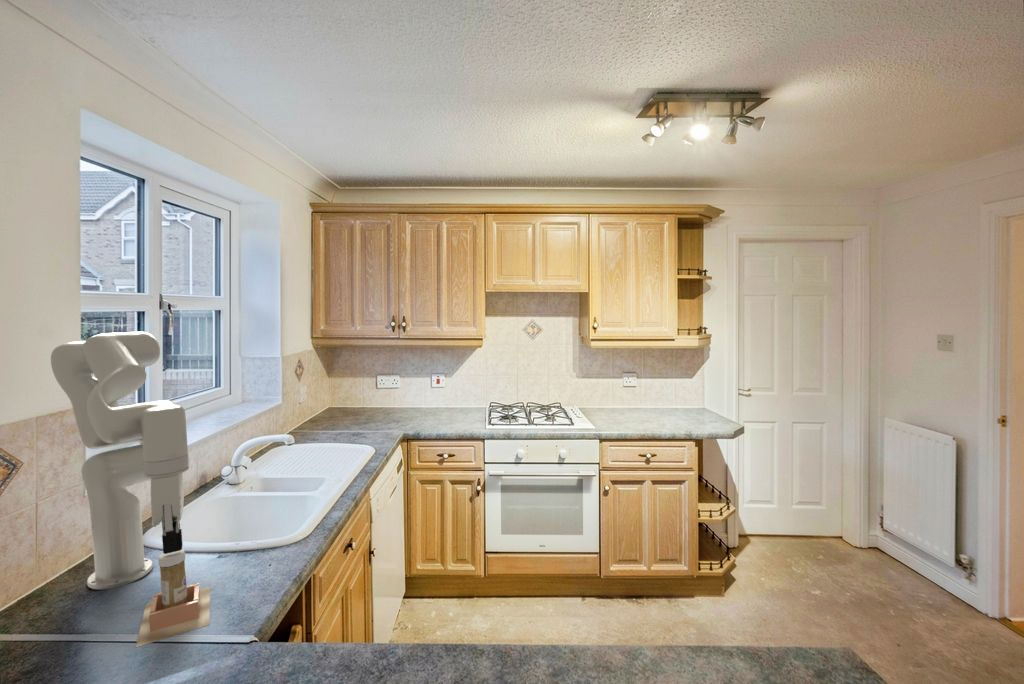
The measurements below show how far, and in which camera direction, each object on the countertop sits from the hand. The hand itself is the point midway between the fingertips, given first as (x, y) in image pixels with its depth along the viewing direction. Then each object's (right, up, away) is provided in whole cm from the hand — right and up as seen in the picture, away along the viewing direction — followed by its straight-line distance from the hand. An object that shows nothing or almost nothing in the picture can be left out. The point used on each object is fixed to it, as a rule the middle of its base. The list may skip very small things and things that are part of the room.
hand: (173, 550), depth 100 cm
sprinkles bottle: (0, -14, +1) cm, 14 cm away
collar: (0, -14, +1) cm, 14 cm away
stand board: (0, -15, +1) cm, 15 cm away
